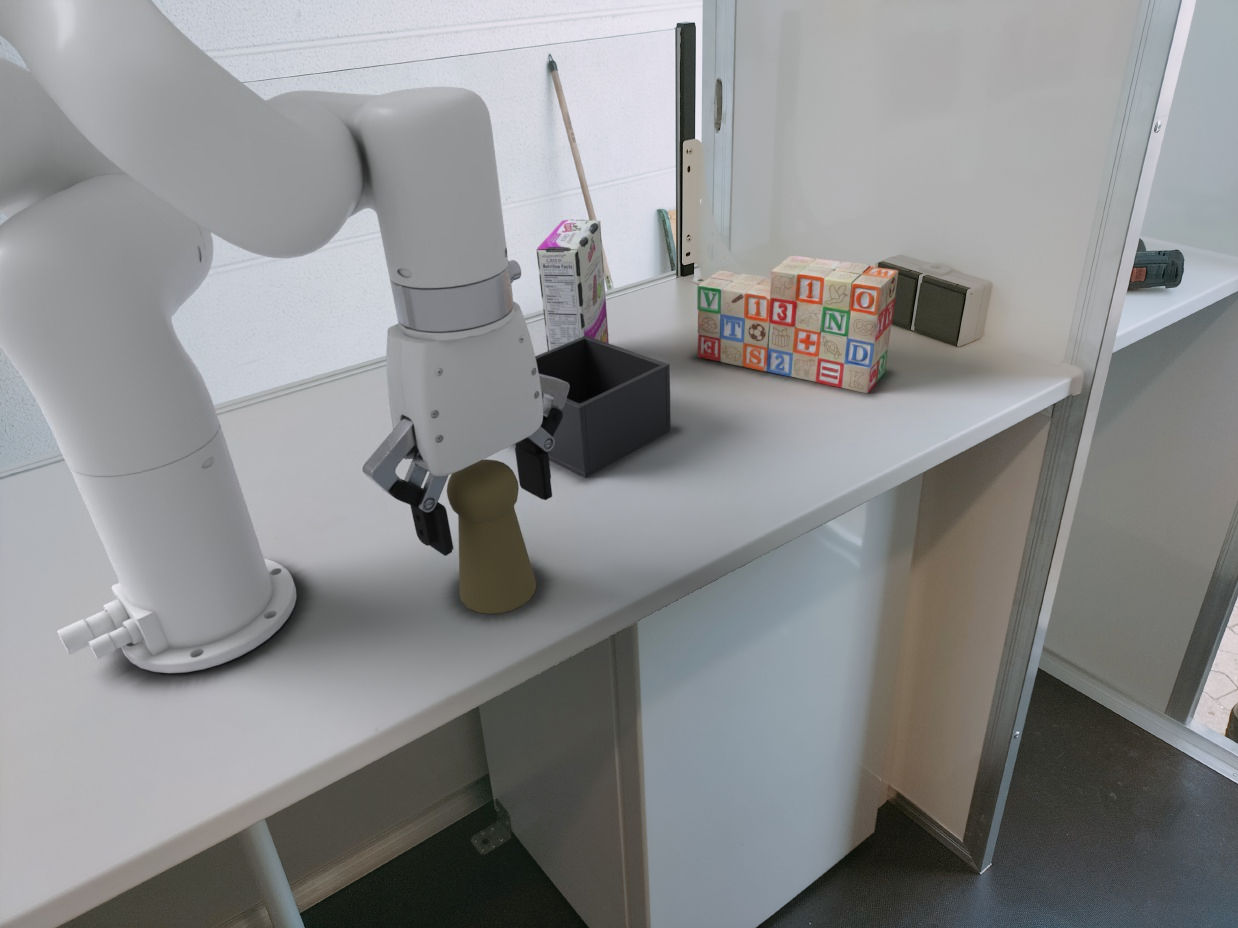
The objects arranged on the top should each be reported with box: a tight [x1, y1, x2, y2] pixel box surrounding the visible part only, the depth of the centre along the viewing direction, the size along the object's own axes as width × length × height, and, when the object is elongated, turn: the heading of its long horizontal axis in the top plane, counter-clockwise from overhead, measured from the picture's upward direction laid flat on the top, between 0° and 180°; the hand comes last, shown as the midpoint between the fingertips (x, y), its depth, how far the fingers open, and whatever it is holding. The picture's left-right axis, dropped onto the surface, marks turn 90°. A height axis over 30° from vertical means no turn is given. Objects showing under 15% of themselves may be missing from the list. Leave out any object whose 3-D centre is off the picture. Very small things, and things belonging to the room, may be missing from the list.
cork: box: [446, 458, 537, 615], centre depth 64 cm, size 6×6×11 cm
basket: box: [535, 336, 672, 479], centre depth 86 cm, size 12×12×8 cm
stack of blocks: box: [696, 255, 899, 394], centre depth 97 cm, size 21×6×12 cm, turn 58°
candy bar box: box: [535, 219, 610, 351], centre depth 99 cm, size 11×5×16 cm, turn 168°
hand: (488, 518), depth 64 cm, fingers open, 8 cm apart
